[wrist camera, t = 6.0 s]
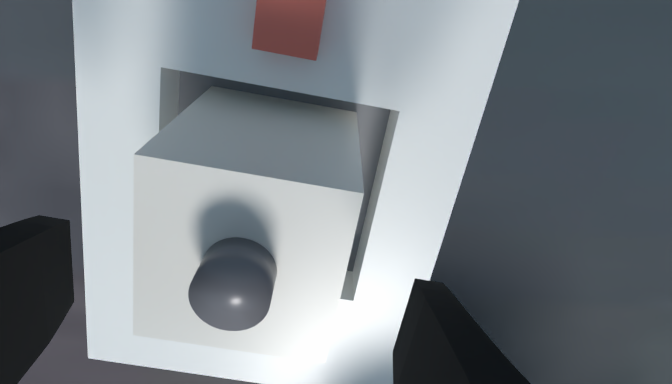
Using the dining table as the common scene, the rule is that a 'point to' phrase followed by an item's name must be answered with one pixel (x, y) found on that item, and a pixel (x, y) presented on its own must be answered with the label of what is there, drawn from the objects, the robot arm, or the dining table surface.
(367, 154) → the socket plate
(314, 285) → the plug
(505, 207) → the dining table surface
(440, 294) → the robot arm
